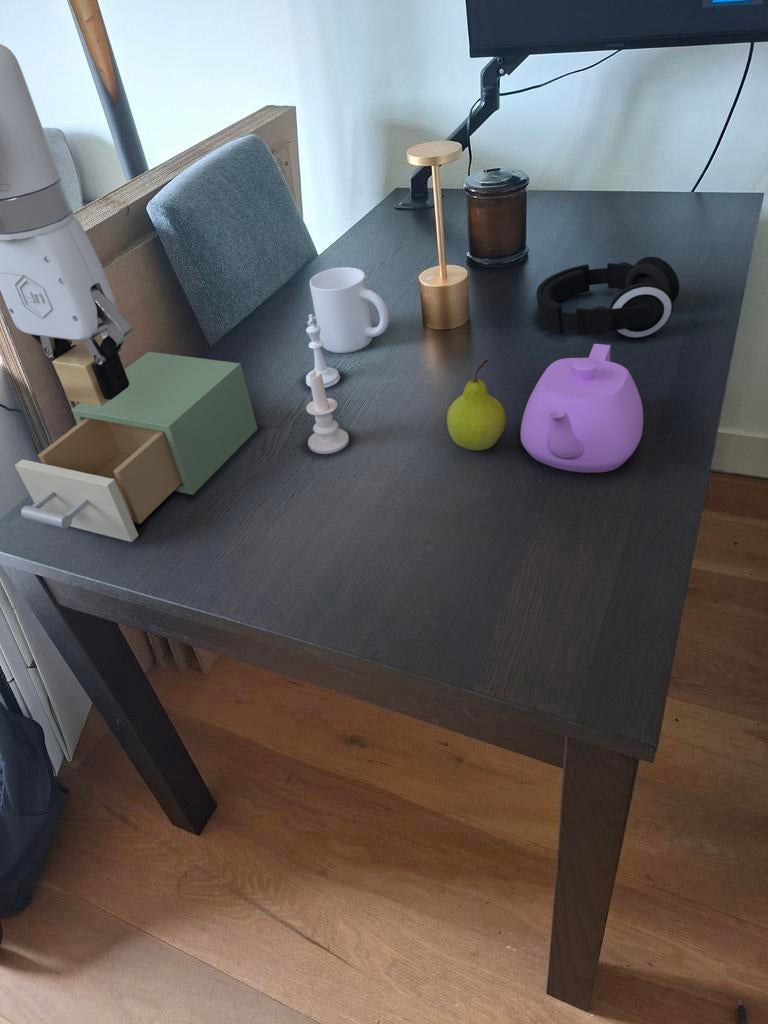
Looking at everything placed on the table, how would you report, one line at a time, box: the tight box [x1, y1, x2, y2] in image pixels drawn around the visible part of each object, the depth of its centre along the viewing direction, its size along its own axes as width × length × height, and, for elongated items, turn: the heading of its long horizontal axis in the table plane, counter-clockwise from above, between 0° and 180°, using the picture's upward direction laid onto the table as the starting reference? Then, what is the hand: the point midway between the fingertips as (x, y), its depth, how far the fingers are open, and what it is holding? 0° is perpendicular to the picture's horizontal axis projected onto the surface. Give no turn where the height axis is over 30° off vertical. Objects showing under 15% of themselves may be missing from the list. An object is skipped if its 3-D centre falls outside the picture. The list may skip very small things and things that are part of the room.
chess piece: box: [305, 313, 341, 389], centre depth 106 cm, size 5×5×10 cm
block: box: [51, 341, 130, 406], centre depth 77 cm, size 4×4×4 cm
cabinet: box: [71, 351, 259, 496], centre depth 96 cm, size 15×15×10 cm
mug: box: [309, 266, 390, 354], centre depth 114 cm, size 12×8×10 cm
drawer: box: [14, 418, 183, 543], centre depth 87 cm, size 18×14×8 cm
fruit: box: [446, 359, 507, 452], centre depth 88 cm, size 7×7×12 cm
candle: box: [305, 369, 350, 455], centre depth 93 cm, size 5×5×10 cm
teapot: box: [519, 343, 644, 473], centre depth 86 cm, size 13×20×11 cm
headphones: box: [535, 255, 680, 339], centre depth 112 cm, size 18×8×20 cm
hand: (97, 388), depth 78 cm, fingers closed on block, 4 cm apart
